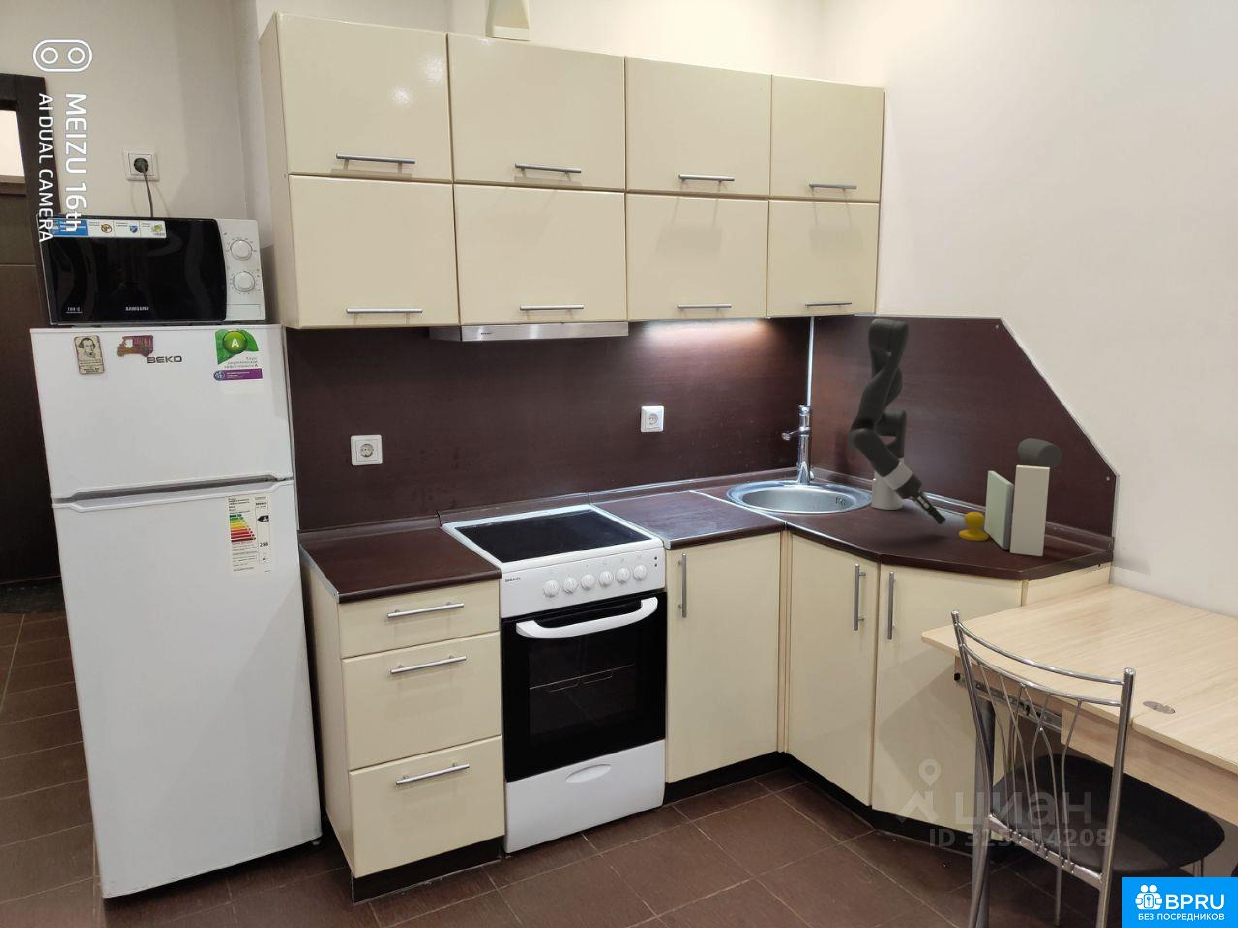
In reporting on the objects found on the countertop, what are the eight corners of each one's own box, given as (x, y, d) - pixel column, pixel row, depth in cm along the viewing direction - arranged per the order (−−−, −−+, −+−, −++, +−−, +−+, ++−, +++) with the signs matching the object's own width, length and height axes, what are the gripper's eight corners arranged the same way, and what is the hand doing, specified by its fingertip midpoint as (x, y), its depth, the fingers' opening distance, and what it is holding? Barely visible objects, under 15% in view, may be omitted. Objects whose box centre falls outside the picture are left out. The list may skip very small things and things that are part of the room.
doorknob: (985, 534, 262) (990, 541, 254) (956, 533, 264) (961, 540, 256) (987, 509, 261) (992, 516, 253) (958, 508, 262) (963, 515, 255)
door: (983, 529, 264) (987, 470, 261) (990, 529, 264) (994, 470, 261) (1003, 549, 244) (1008, 485, 241) (1010, 549, 244) (1015, 485, 240)
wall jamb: (1009, 552, 243) (1016, 466, 239) (1010, 549, 246) (1017, 464, 241) (1042, 556, 239) (1049, 469, 235) (1042, 553, 242) (1049, 467, 237)
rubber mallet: (1008, 538, 257) (1016, 436, 251) (1033, 538, 257) (1042, 436, 251) (1030, 550, 244) (1038, 443, 239) (1056, 550, 245) (1065, 443, 239)
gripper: (915, 475, 252) (957, 518, 252) (907, 466, 265) (947, 507, 265) (895, 493, 254) (937, 535, 254) (888, 483, 267) (928, 524, 267)
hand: (942, 521), depth 260 cm, fingers closed
